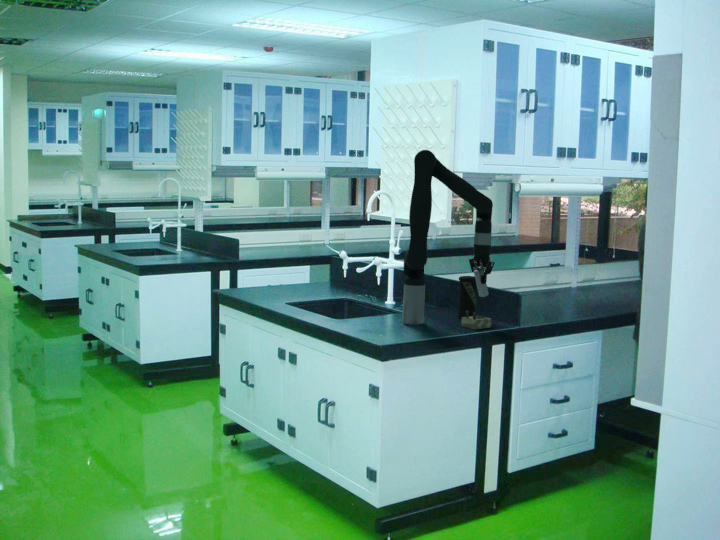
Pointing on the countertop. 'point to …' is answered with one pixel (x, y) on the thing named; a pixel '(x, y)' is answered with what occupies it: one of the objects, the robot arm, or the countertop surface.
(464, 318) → the slot block
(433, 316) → the countertop surface
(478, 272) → the grey rectangular bar
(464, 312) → the container
